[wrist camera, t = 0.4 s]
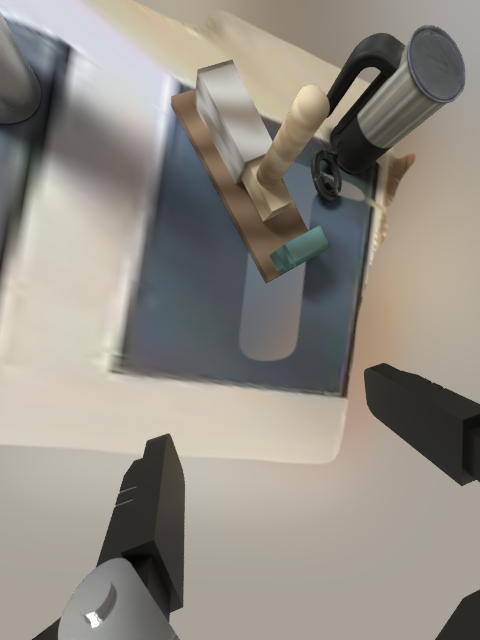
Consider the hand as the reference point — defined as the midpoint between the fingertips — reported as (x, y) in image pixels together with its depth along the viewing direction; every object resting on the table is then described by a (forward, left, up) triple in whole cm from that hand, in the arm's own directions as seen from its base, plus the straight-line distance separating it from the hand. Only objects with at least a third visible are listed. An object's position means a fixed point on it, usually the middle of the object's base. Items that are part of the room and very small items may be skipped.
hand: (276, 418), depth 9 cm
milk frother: (-16, +37, -27) cm, 48 cm away
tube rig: (-18, +19, -27) cm, 38 cm away
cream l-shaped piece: (-21, +19, -25) cm, 37 cm away
